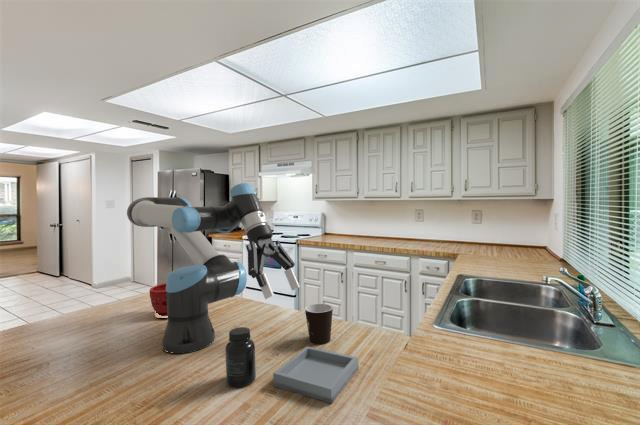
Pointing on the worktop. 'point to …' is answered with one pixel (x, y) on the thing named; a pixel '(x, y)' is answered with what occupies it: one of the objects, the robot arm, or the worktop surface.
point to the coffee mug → (319, 323)
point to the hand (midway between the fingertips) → (283, 292)
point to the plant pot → (160, 303)
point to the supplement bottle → (240, 358)
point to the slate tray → (316, 373)
